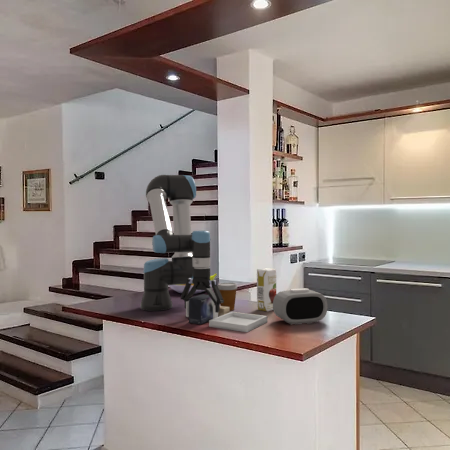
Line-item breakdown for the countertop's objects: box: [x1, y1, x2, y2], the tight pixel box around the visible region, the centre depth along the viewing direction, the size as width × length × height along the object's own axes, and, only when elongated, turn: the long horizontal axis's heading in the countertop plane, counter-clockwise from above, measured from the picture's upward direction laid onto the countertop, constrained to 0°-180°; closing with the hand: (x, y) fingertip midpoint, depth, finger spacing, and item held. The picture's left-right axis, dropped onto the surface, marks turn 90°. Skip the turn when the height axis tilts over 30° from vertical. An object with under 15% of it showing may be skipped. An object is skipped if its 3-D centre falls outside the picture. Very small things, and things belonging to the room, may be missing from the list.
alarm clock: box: [272, 287, 328, 326], centre depth 182 cm, size 21×10×13 cm, turn 106°
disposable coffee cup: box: [217, 282, 238, 312], centre depth 206 cm, size 10×10×12 cm
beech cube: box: [218, 306, 231, 317], centre depth 191 cm, size 4×4×4 cm
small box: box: [188, 293, 214, 325], centre depth 184 cm, size 11×6×10 cm, turn 148°
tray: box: [208, 311, 268, 333], centre depth 179 cm, size 17×18×2 cm
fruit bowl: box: [168, 273, 218, 295], centre depth 254 cm, size 28×27×11 cm
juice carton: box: [256, 267, 277, 312], centre depth 206 cm, size 8×9×19 cm
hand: (201, 318), depth 184 cm, fingers open, 13 cm apart
